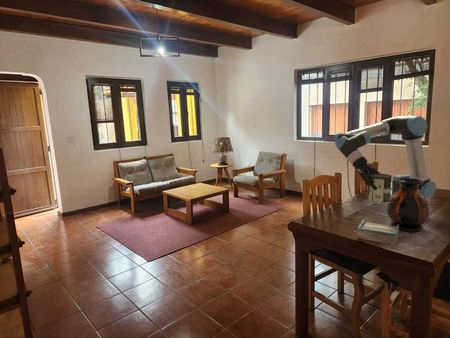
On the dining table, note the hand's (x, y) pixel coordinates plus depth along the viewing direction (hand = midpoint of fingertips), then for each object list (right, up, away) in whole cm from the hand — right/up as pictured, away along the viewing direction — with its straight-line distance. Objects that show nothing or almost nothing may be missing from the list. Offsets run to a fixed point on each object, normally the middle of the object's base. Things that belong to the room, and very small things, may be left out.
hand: (385, 192), depth 156 cm
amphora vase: (+20, -22, +16) cm, 34 cm away
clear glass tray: (-1, -24, +6) cm, 25 cm away
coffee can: (-2, -5, +3) cm, 6 cm away
